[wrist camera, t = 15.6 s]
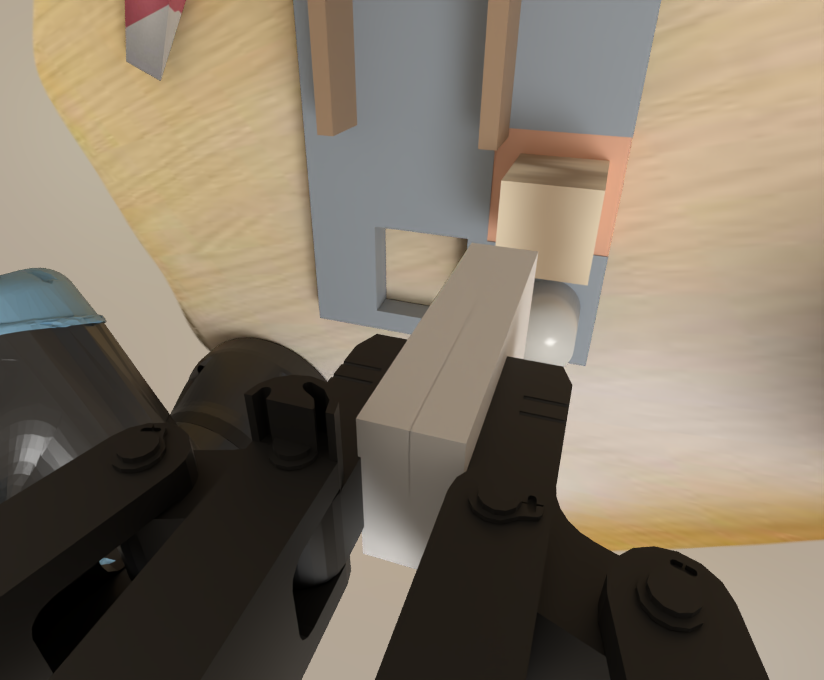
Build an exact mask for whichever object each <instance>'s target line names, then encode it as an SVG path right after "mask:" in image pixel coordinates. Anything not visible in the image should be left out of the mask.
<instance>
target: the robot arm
mask: <svg viewBox="0 0 824 680" xmlns="http://www.w3.org/2000/svg"><path fill="white" fill-rule="evenodd" d="M537 258H538V251H531V250H523V249H516V248H508V247H501V246H493V245H486V244H478V243H471V244H470V246H469V247H468V249H467V250H466V252H465V254H464V255H463V257H462V258H461V260H460V261H459V263H458V264H457V266H456V267H455V269H454V270H453V272H452V273H451V275H450V276H449V278H448V279H447V281H446V282H445V284H444V285H443V287H442V288H441V290H440V291H439V293H438V295H437V296H436V298H435V299H434V301H433V302H432V304H431V305H430V307H429V308H428V310H427V311H426V313H425V314H424V316H423V317H422V319H421V320H420V322H419V323H418V325H417V326H416V328H415V329H414V331H413V333H412V334H411V336H410V337H409V339H408V340H407V339H401V338H396V337H390V336H385V335H380V334H376V335H374V336H373V337H371V338H369V339H367V340H365V341H364V342H362V343H360V344H358V345H356V347H355V348H354V349H353V350H352V352H351V353H350V354H349V355H348V357H347V358H346V359H345V361H344V364H341V366H340V367H339V368H338V369H337V371H336V372H335V373H334V377H331V378H330V379H329V381H328V382H326V381H325V379H324V378H323V377H322V376H321V375H320V374H319V373H318V372H317V371H316V369H314V368H313V367H312V366H311V365H310V364H309V363H308V362H306V361H305V360H304V359H302V358H301V357H300V356H298V355H297V354H295V353H293V352H292V351H290V350H288V349H286V348H284V347H282V346H280V345H278V344H275V343H272V342H269V341H265V340H261V339H255V338H238V339H233V340H229V341H226V342H224V343H222V344H220V345H218V346H217V347H216V348H214V349H213V350H212V351H211V352H210V353H209V354H207V355H206V356H205V357H204V358H203V359H202V360H201V361H200V362H199V363H198V364H197V365H196V367H195V368H194V370H193V372H192V373H191V375H190V377H189V380H188V382H187V383H186V385H185V387H184V389H183V391H182V393H181V394H180V396H179V399H178V400H177V402H176V405H175V406H174V408H173V410H172V412H171V414H169V413H168V411H167V410H166V408H165V407H164V406H163V404H162V403H161V402H160V400H159V399H158V398H157V396H156V395H155V393H154V392H153V391H152V389H151V388H150V387H149V385H148V384H147V383H146V381H145V379H144V378H143V377H142V375H141V374H140V372H139V371H138V370H137V368H136V367H135V366H134V364H133V363H132V361H131V360H130V359H129V357H128V356H127V354H126V353H125V352H124V350H123V349H122V348H121V346H120V345H119V343H118V342H117V341H116V339H115V338H114V336H113V335H112V333H111V332H110V331H109V329H108V328H107V327H106V325H105V324H104V323H105V322H106V320H105V318H104V317H103V316H101V315H98V314H97V313H96V312H95V311H94V309H93V308H92V307H91V306H90V304H89V303H88V302H87V301H86V299H85V298H84V297H83V296H82V294H81V293H80V292H79V291H78V289H77V288H76V287H75V286H74V285H73V283H72V282H71V281H70V280H69V279H68V278H67V277H65V276H64V275H62V274H61V273H59V272H57V271H54V270H51V269H46V268H30V269H24V270H19V271H15V272H11V273H8V274H4V275H0V680H302V678H303V675H304V673H305V671H306V669H307V667H308V665H309V663H310V661H311V659H312V657H313V655H314V652H315V651H316V649H317V646H318V644H319V642H320V640H321V638H322V636H323V634H324V632H325V630H326V628H327V626H328V624H329V621H330V620H331V617H332V615H333V613H334V611H335V609H336V607H337V605H338V603H339V601H340V599H341V597H342V595H343V593H344V590H345V589H346V586H347V584H348V580H349V576H350V572H351V565H350V554H351V552H352V549H353V548H354V546H355V544H356V542H357V540H358V538H359V536H360V534H361V532H362V542H363V554H367V555H370V556H374V557H377V558H380V559H384V560H387V561H391V562H394V563H397V564H401V565H404V566H407V567H410V568H414V569H417V571H416V574H415V576H414V579H413V582H412V584H411V587H410V589H409V592H408V595H407V597H406V600H405V602H404V605H403V608H402V610H401V613H400V616H399V618H398V621H397V623H396V626H395V629H394V631H393V634H392V636H391V639H390V642H389V644H388V647H387V650H386V652H385V655H384V658H383V660H382V663H381V666H380V668H379V670H378V673H377V676H376V678H375V680H769V678H768V675H767V673H766V671H765V668H764V666H763V664H762V662H761V659H760V657H759V655H758V653H757V650H756V648H755V645H754V643H753V641H752V638H751V636H750V634H749V632H748V629H747V627H746V625H745V622H744V620H743V618H742V616H741V613H740V611H739V609H738V606H737V604H736V603H735V601H734V599H733V598H732V596H731V595H730V593H729V592H728V590H727V589H726V587H725V586H724V584H723V583H722V582H721V581H720V580H719V579H718V578H717V577H716V576H715V575H714V574H712V573H711V572H710V571H709V570H708V569H706V567H704V566H703V565H702V564H701V563H699V562H697V561H695V560H693V559H691V558H689V557H687V556H685V555H683V554H681V553H679V552H677V551H672V550H668V549H663V548H659V547H655V546H653V547H641V548H632V549H630V550H628V551H627V552H625V553H623V554H621V555H617V554H615V553H613V552H612V551H610V550H608V549H606V548H604V547H603V546H601V545H599V544H597V543H595V542H594V541H592V540H591V539H589V538H588V537H586V536H585V535H583V534H582V533H580V532H579V531H578V530H577V529H576V528H575V527H574V526H573V525H572V524H571V523H570V522H569V521H568V520H567V518H566V516H565V515H564V513H563V512H562V510H561V509H560V506H559V503H558V500H557V497H556V484H557V478H558V471H559V465H560V459H561V453H562V446H563V440H564V434H565V428H566V421H567V415H568V409H569V403H570V397H571V390H572V384H571V382H570V380H569V378H568V376H567V374H566V372H565V370H564V368H563V366H558V365H552V364H547V363H541V362H536V361H531V360H525V359H523V358H524V353H525V346H526V338H527V331H528V324H529V316H530V309H531V302H532V294H533V287H534V280H535V272H536V265H537Z"/></svg>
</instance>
